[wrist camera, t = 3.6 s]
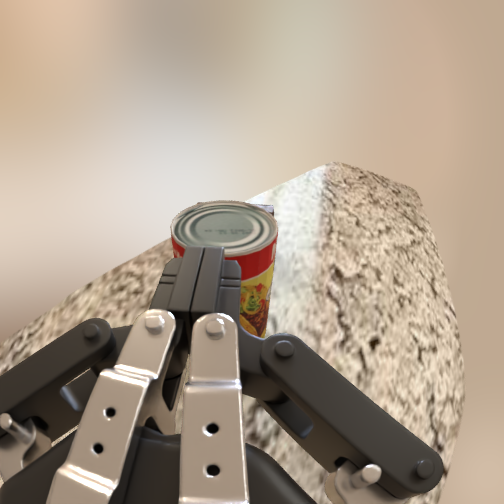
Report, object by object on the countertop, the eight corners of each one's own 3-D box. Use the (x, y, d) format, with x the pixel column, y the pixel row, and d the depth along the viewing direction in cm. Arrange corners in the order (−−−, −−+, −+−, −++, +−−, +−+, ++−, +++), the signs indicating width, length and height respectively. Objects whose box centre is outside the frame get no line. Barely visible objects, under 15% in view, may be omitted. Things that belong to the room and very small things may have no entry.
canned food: (281, 333, 28) (300, 227, 21) (219, 377, 23) (213, 270, 16) (230, 292, 32) (231, 192, 25) (171, 324, 28) (152, 219, 21)
